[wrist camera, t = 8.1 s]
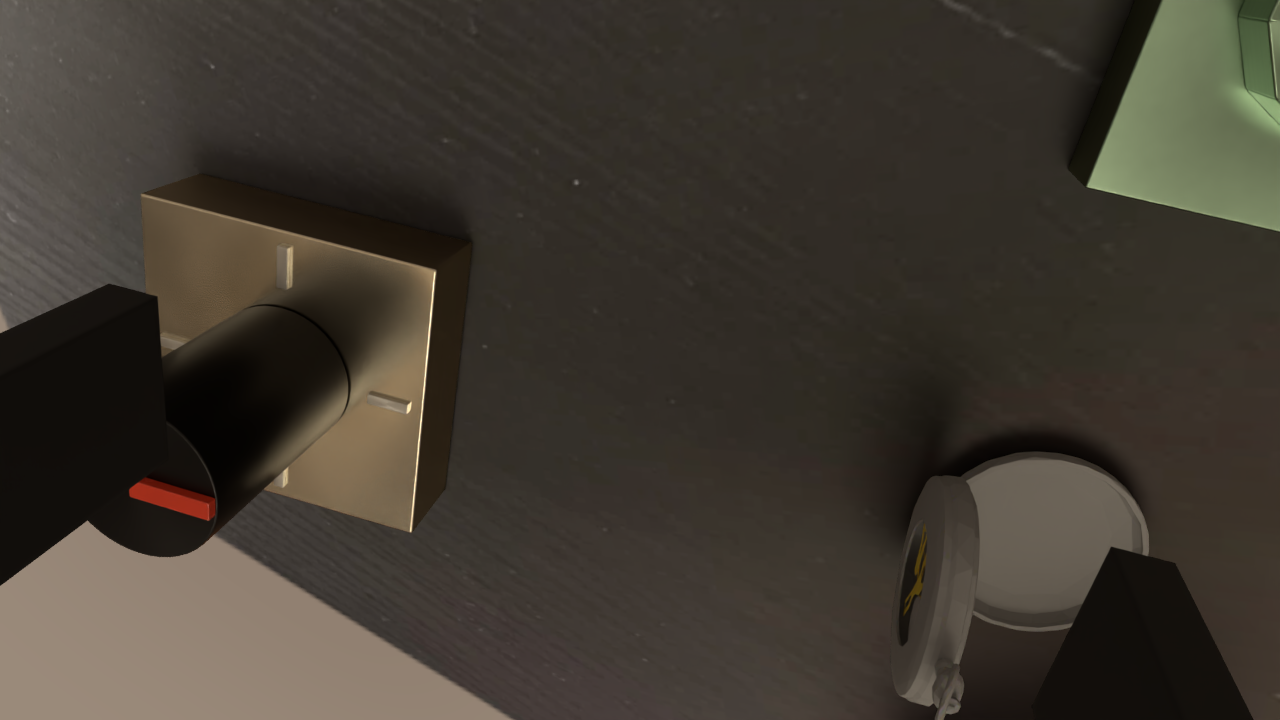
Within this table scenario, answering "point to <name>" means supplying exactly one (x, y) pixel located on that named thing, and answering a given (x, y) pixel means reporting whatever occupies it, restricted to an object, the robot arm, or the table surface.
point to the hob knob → (230, 427)
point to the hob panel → (327, 326)
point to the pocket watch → (1001, 560)
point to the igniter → (1191, 111)
